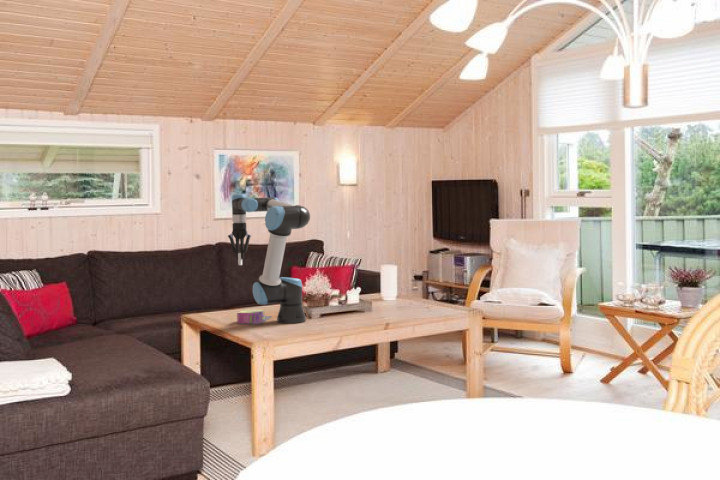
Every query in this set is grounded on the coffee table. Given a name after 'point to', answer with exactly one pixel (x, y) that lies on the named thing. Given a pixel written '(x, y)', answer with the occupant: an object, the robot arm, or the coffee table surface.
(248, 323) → the felt mat
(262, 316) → the box
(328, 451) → the coffee table surface
